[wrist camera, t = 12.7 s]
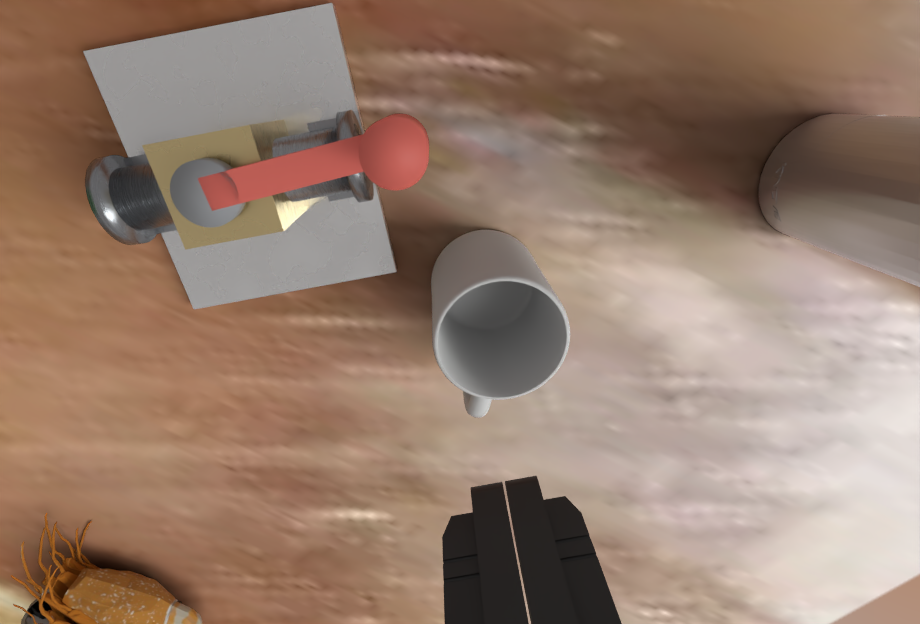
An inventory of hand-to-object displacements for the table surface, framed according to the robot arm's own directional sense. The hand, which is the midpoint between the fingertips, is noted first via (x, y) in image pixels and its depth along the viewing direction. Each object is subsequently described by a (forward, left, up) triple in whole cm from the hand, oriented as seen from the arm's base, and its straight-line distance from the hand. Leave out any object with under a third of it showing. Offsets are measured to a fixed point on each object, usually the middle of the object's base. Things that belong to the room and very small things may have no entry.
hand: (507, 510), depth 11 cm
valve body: (+13, -6, -29) cm, 32 cm away
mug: (-1, +7, -29) cm, 30 cm away
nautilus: (+39, +30, -29) cm, 57 cm away
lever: (+8, -6, -21) cm, 23 cm away
